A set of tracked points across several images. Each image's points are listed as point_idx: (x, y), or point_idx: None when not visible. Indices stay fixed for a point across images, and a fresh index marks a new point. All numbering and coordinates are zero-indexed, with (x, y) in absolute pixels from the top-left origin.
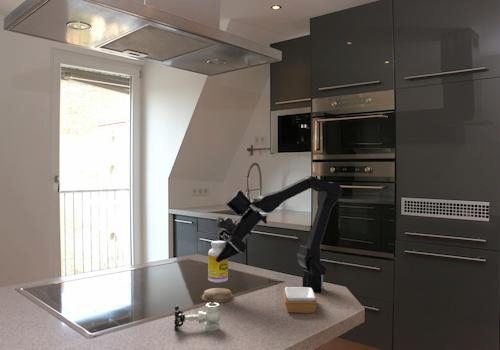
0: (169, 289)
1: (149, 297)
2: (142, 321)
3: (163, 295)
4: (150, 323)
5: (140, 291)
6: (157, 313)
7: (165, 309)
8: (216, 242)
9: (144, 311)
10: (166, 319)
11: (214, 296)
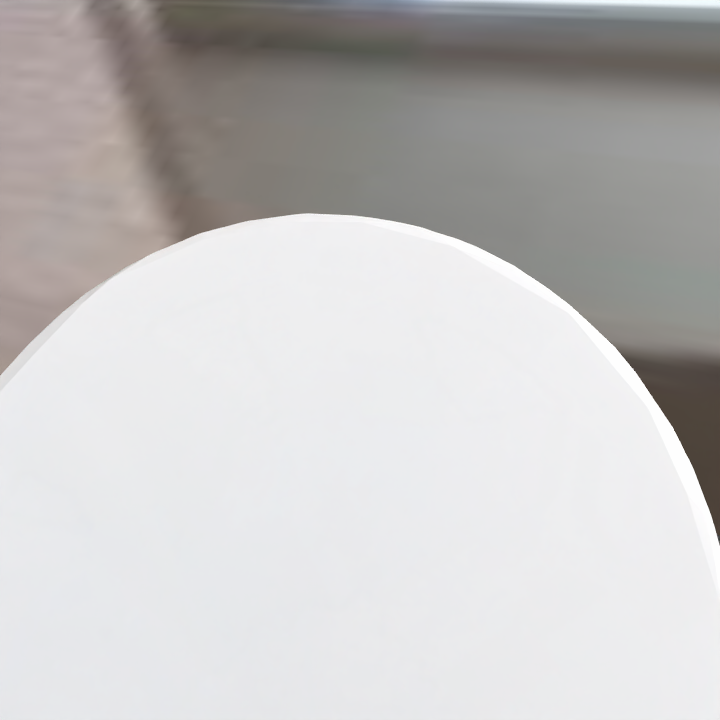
0: (707, 224)
1: (533, 90)
2: (124, 33)
3: (556, 169)
4: (77, 62)
5: (688, 52)
6: (209, 103)
7: (258, 148)
8: (146, 411)
9: (272, 50)
10: (92, 134)
11: None
